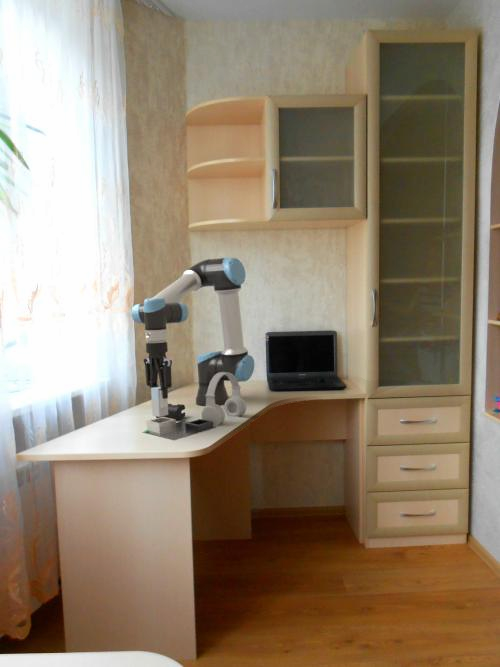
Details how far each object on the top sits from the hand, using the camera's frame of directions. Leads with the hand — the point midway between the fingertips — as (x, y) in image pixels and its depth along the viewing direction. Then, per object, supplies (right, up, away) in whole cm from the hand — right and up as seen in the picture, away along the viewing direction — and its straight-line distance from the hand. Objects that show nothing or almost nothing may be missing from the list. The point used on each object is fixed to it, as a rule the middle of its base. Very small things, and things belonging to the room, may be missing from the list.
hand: (160, 406), depth 185 cm
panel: (+7, -10, +2) cm, 12 cm away
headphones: (+23, -8, +15) cm, 28 cm away
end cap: (+1, -9, +19) cm, 21 cm away
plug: (0, -3, 0) cm, 3 cm away
